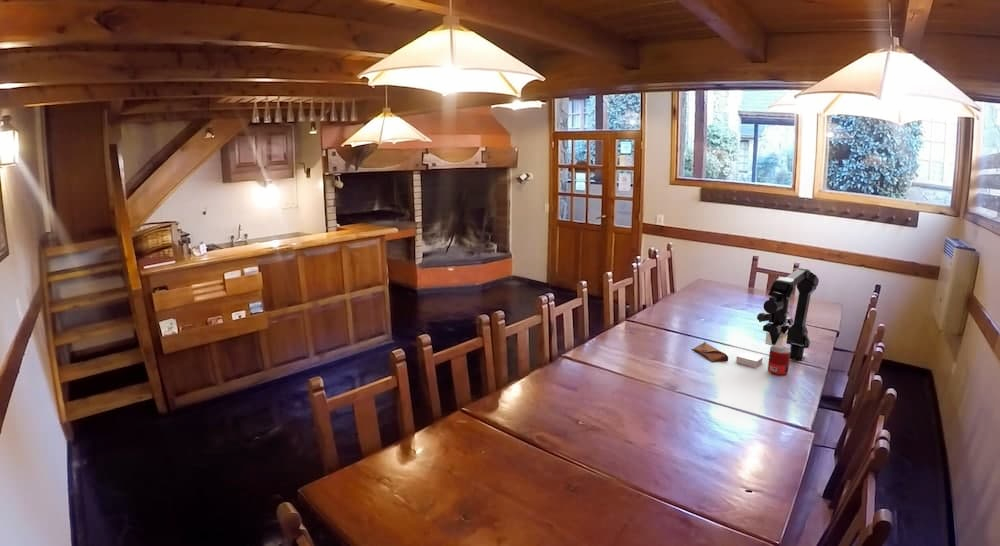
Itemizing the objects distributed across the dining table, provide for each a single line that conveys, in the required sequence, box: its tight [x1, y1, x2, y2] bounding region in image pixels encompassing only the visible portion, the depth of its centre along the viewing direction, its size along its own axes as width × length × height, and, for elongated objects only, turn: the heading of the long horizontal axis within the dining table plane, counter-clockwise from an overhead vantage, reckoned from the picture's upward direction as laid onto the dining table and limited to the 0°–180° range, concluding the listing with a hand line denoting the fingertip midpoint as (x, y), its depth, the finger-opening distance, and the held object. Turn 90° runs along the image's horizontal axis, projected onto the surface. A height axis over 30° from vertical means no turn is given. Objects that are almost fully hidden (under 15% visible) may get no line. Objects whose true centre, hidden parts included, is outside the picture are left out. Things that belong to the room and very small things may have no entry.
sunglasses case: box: [691, 341, 729, 363], centre depth 276 cm, size 18×7×7 cm, turn 17°
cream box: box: [764, 331, 788, 348], centre depth 255 cm, size 5×7×5 cm
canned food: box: [767, 345, 791, 377], centre depth 256 cm, size 8×8×11 cm
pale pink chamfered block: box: [735, 351, 764, 369], centre depth 267 cm, size 7×9×3 cm
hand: (775, 343), depth 256 cm, fingers closed on cream box, 5 cm apart
